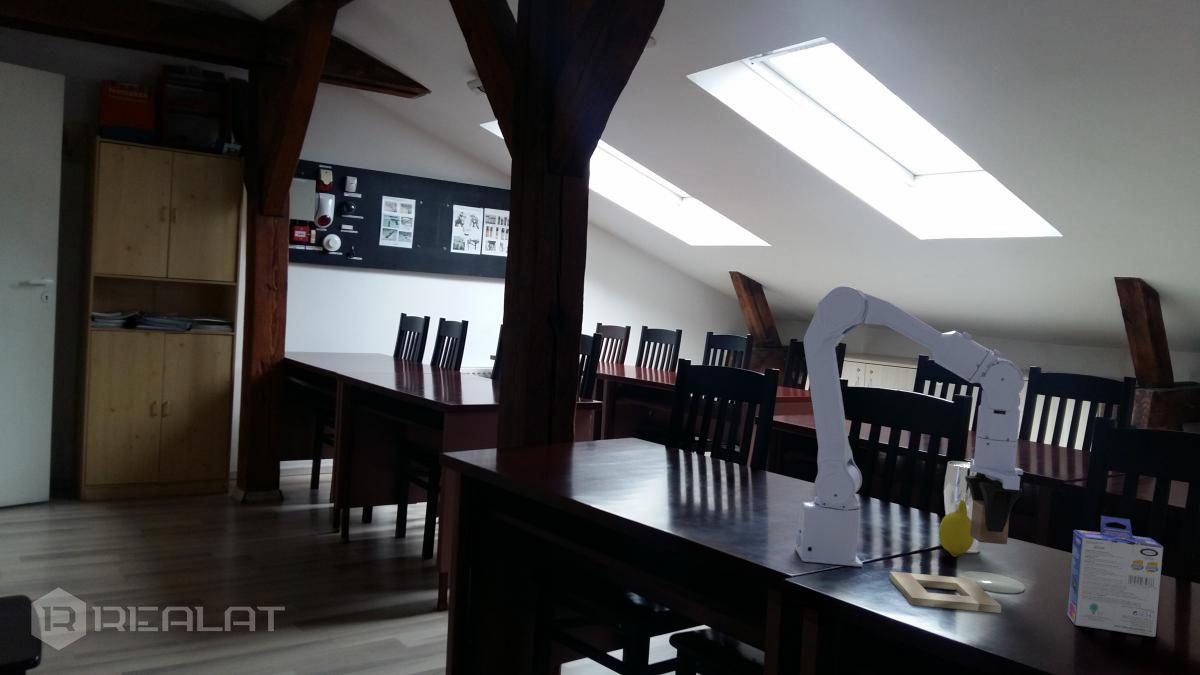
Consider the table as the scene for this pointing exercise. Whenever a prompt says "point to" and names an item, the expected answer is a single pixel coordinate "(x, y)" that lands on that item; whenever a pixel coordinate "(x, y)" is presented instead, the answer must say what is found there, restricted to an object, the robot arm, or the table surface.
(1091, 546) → the ink cartridge box
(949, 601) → the pocket block
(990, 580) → the disc
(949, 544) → the lemon
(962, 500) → the beer glass
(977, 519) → the walnut block
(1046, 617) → the table surface
